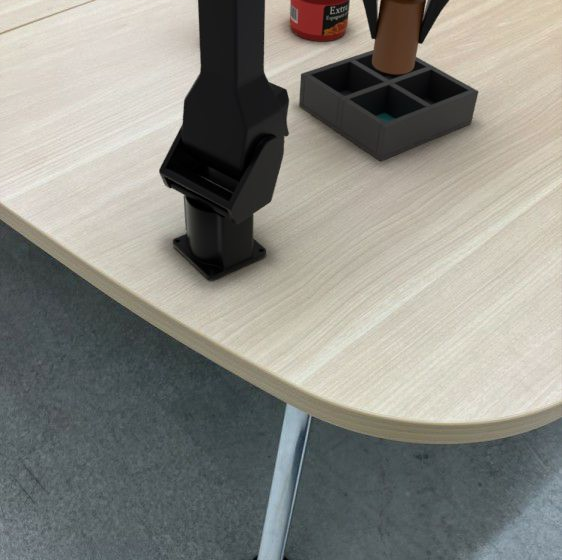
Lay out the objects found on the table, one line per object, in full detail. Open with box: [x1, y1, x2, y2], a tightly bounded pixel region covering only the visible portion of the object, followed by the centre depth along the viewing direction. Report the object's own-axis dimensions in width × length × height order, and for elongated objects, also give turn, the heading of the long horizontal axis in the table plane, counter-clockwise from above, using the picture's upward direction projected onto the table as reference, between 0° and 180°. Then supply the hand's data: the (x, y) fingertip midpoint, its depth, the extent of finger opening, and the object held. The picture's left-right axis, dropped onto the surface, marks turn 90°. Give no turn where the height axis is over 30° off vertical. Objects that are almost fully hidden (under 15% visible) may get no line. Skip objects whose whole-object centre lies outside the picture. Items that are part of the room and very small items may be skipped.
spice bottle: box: [372, 0, 427, 74], centre depth 78 cm, size 4×4×10 cm
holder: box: [298, 49, 479, 162], centre depth 90 cm, size 14×14×4 cm
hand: (397, 39), depth 80 cm, fingers closed on spice bottle, 4 cm apart
